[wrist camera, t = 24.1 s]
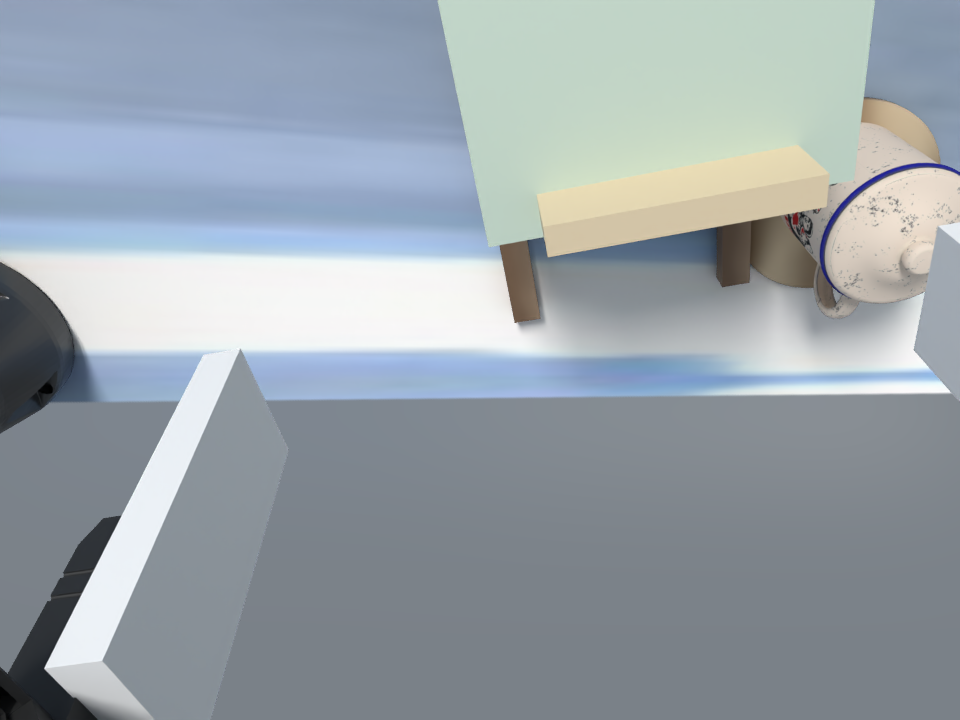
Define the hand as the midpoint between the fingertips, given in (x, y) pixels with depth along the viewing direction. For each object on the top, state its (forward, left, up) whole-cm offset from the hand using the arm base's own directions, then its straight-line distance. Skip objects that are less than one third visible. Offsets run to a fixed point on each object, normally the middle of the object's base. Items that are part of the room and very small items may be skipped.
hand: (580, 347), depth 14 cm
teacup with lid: (+21, -17, -36) cm, 45 cm away
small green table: (+6, -1, -35) cm, 36 cm away
